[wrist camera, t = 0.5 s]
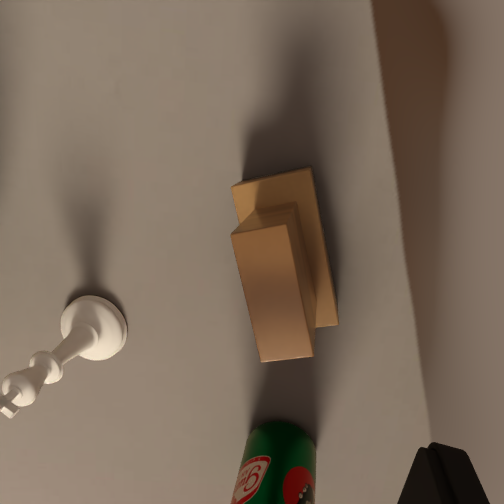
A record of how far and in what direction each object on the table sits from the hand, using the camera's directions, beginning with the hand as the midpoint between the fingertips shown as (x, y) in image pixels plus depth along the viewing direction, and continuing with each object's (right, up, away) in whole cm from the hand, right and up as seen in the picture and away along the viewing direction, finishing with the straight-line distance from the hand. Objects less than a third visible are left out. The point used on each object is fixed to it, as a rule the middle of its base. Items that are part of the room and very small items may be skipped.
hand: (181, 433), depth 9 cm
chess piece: (-10, -2, +22) cm, 24 cm away
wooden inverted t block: (+4, +4, +17) cm, 18 cm away
